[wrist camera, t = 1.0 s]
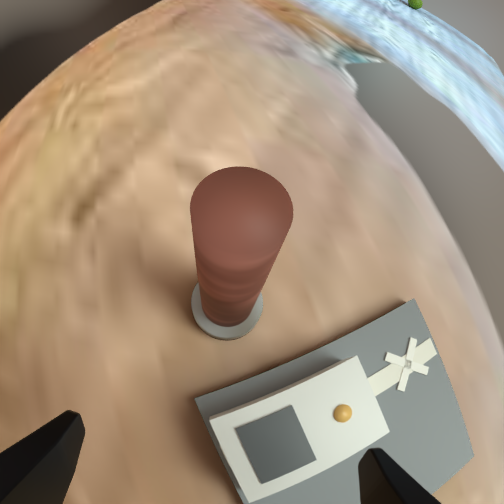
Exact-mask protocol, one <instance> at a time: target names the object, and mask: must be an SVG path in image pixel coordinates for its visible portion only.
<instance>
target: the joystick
mask: <svg viewBox="0 0 504 504" xmlns="http://www.w3.org/2000/svg"><path fill="white" fill-rule="evenodd" d="M190 213H191V223H192V232H193V241H194V250H195V258H196V267H197V275H198V283H197V284H196V286H195V288H194V290H193V293H192V299H191V306H192V311H193V315H194V318H195V320H196V323H197V324H198V326H199V327H200V328H201V330H203V331H204V332H205V333H206V334H207V335H209V336H211V337H213V338H215V339H219V340H235V339H238V338H241V337H243V336H245V335H246V334H248V333H249V332H250V331H251V330H252V329H253V328H254V326H255V325H256V323H257V322H258V320H259V318H260V316H261V313H262V309H263V298H262V294H261V290H262V288H263V286H264V283H265V281H266V279H267V277H268V275H269V273H270V270H271V268H272V266H273V264H274V262H275V260H276V257H277V255H278V253H279V251H280V249H281V246H282V244H283V242H284V240H285V238H286V235H287V233H288V231H289V229H290V226H291V223H292V220H293V205H292V202H291V198H290V196H289V194H288V192H287V191H286V189H285V188H284V187H283V186H282V184H281V183H280V182H279V181H277V180H276V179H275V178H274V177H272V176H271V175H269V174H267V173H265V172H263V171H260V170H257V169H254V168H250V167H229V168H224V169H221V170H218V171H216V172H213V173H212V174H210V175H208V176H207V177H206V178H204V179H203V180H202V181H201V182H200V183H199V185H198V186H197V187H196V189H195V191H194V193H193V195H192V198H191V203H190Z"/></svg>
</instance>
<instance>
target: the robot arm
mask: <svg viewBox="0 0 504 504" xmlns="http://www.w3.org/2000/svg"><path fill="white" fill-rule="evenodd" d="M84 436H85V428H84V424H83V421H82V418H81V415H80V414H79V413H77V412H74V411H71V410H67V411H65V412H63V413H62V414H60V415H59V416H57V417H56V418H54V419H53V420H51V421H50V422H48V423H47V424H45V425H43V426H42V427H40V428H39V429H37V430H36V431H34V432H33V433H31V434H30V435H28V436H26V437H25V438H23V439H22V440H20V441H19V442H17V443H15V444H14V445H12V446H11V447H9V448H7V449H6V450H4V451H3V452H1V453H0V504H63V501H64V498H65V496H66V493H67V490H68V488H69V485H70V483H71V480H72V478H73V475H74V472H75V469H76V465H77V461H78V458H79V454H80V450H81V447H82V443H83V439H84ZM358 475H359V489H360V502H361V504H441V503H440V502H439V501H438V500H437V499H436V498H435V497H433V496H432V495H431V494H430V493H429V492H428V491H427V490H426V489H425V488H423V487H422V486H421V485H420V484H419V483H418V482H417V481H416V480H415V479H414V478H413V477H412V476H410V475H409V474H408V473H407V472H406V471H405V470H404V469H403V468H402V467H401V466H400V465H399V464H398V463H397V462H396V461H394V460H393V459H392V458H391V457H390V456H389V455H388V454H387V453H386V452H385V451H384V450H383V449H382V448H380V447H377V448H369V449H368V450H367V451H366V452H365V454H364V455H363V457H362V458H361V460H360V461H359V463H358Z"/></svg>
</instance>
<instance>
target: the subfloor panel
mask: <svg viewBox="0 0 504 504" xmlns="http://www.w3.org/2000/svg"><path fill="white" fill-rule="evenodd" d="M356 355H357V356H358V358H359V361H360V363H361V365H362V367H363V370H364V372H365V374H366V376H367V379H368V381H369V383H370V386H371V388H372V390H373V393H374V395H375V397H376V400H377V402H378V404H379V407H380V409H381V411H382V414H383V416H384V419H385V421H386V424H387V426H388V428H389V431H390V432H389V433H387V434H386V435H384V436H383V437H381V438H380V439H378V440H377V441H375V442H373V443H372V444H370V445H369V446H367V447H365V448H364V449H362V450H360V451H359V452H357V453H355V454H354V455H352V456H350V457H348V458H347V459H345V460H343V461H341V462H339V463H338V464H336V465H334V466H332V467H330V468H328V469H326V470H324V471H322V472H320V473H318V474H316V475H314V476H312V477H310V478H308V479H306V480H304V481H302V482H300V483H297V484H295V485H293V486H291V487H288V488H286V489H284V490H281V491H279V492H277V493H274V494H272V495H269V496H267V497H264V498H261V499H259V500H256V501H253V502H251V503H249V502H248V500H247V498H246V496H245V494H244V492H243V490H242V489H241V487H240V485H239V483H238V481H237V479H236V477H235V475H234V473H233V471H232V469H231V467H230V465H229V462H228V460H227V458H226V456H225V454H224V452H223V450H222V448H221V446H220V443H219V441H218V439H217V437H216V435H215V432H214V430H213V428H212V426H211V423H210V421H209V419H210V416H213V415H215V414H218V413H221V412H224V411H227V410H229V409H232V408H235V407H237V406H240V405H243V404H245V403H248V402H250V401H253V400H255V399H258V398H260V397H263V396H265V395H267V394H270V393H272V392H275V391H277V390H279V389H282V388H284V387H286V386H288V385H291V384H293V383H295V382H297V381H299V380H302V379H304V378H306V377H308V376H310V375H312V374H314V373H316V372H319V371H321V370H323V369H325V368H327V367H329V366H331V365H333V364H335V363H337V362H339V361H341V360H343V359H346V358H350V357H353V356H356ZM194 399H195V401H196V404H197V406H198V408H199V411H200V413H201V416H202V418H203V420H204V423H205V425H206V427H207V429H208V432H209V434H210V436H211V438H212V441H213V443H214V445H215V447H216V449H217V451H218V454H219V456H220V458H221V460H222V462H223V464H224V466H225V468H226V470H227V472H228V474H229V476H230V478H231V480H232V482H233V484H234V486H235V488H236V490H237V492H238V494H239V496H240V498H241V499H242V501H243V503H244V504H361V502H360V489H359V475H358V463H359V461H360V460H361V458H362V457H363V455H364V454H365V452H366V451H367V450H368V449H369V448H377V447H380V448H382V449H383V450H384V451H385V452H386V453H387V454H388V455H389V456H390V457H391V458H392V459H393V460H394V461H396V462H397V463H398V464H399V465H400V466H401V467H402V468H403V469H404V470H405V471H406V472H407V473H408V474H409V475H410V476H412V477H413V478H414V479H415V480H416V481H417V482H418V483H419V484H420V485H421V486H422V487H423V488H425V489H426V490H427V491H428V492H429V493H430V494H433V493H434V492H435V491H436V490H438V489H439V488H440V487H441V486H442V485H443V484H445V483H446V482H447V481H448V480H449V479H450V478H451V477H453V476H454V475H455V474H456V473H457V472H458V471H459V470H460V469H461V468H462V467H463V466H464V465H465V464H466V463H468V462H469V461H470V460H471V459H472V458H473V457H474V453H473V450H472V446H471V443H470V439H469V436H468V433H467V429H466V426H465V423H464V420H463V417H462V414H461V411H460V408H459V405H458V402H457V399H456V396H455V393H454V391H453V388H452V385H451V383H450V380H449V377H448V375H447V372H446V370H445V367H444V365H443V362H442V360H441V357H440V355H439V352H438V350H437V348H436V345H435V343H434V340H433V338H432V336H431V334H430V331H429V329H428V327H427V325H426V322H425V320H424V318H423V316H422V314H421V312H420V310H419V307H418V305H417V303H416V301H415V299H412V300H410V301H408V302H407V303H405V304H403V305H401V306H400V307H398V308H396V309H394V310H393V311H391V312H389V313H387V314H385V315H384V316H382V317H380V318H378V319H376V320H374V321H372V322H371V323H369V324H367V325H365V326H363V327H361V328H359V329H357V330H355V331H353V332H351V333H349V334H347V335H345V336H343V337H341V338H339V339H337V340H335V341H333V342H331V343H329V344H327V345H325V346H323V347H321V348H319V349H316V350H314V351H312V352H310V353H308V354H306V355H303V356H301V357H299V358H297V359H294V360H292V361H290V362H287V363H285V364H283V365H281V366H278V367H276V368H273V369H271V370H269V371H266V372H264V373H261V374H259V375H256V376H254V377H251V378H249V379H246V380H244V381H241V382H238V383H236V384H233V385H230V386H228V387H225V388H222V389H220V390H217V391H214V392H211V393H208V394H205V395H203V396H200V397H197V398H194Z"/></svg>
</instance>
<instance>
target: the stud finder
mask: <svg viewBox="0 0 504 504" xmlns="http://www.w3.org/2000/svg"><path fill="white" fill-rule="evenodd" d="M209 421H210V423H211V426H212V428H213V430H214V432H215V435H216V437H217V439H218V441H219V443H220V446H221V448H222V450H223V452H224V454H225V456H226V458H227V460H228V462H229V465H230V467H231V469H232V471H233V473H234V475H235V477H236V479H237V481H238V483H239V485H240V487H241V489H242V490H243V492H244V494H245V496H246V498H247V500H248V502H249V503H251V502H253V501H256V500H259V499H261V498H264V497H267V496H269V495H272V494H274V493H277V492H279V491H281V490H284V489H286V488H288V487H291V486H293V485H295V484H297V483H300V482H302V481H304V480H306V479H308V478H310V477H312V476H314V475H316V474H318V473H320V472H322V471H324V470H326V469H328V468H330V467H332V466H334V465H336V464H338V463H339V462H341V461H343V460H345V459H347V458H348V457H350V456H352V455H354V454H355V453H357V452H359V451H360V450H362V449H364V448H365V447H367V446H369V445H370V444H372V443H373V442H375V441H377V440H378V439H380V438H381V437H383V436H384V435H386V434H387V433H389V432H390V431H389V428H388V426H387V424H386V421H385V419H384V416H383V414H382V411H381V409H380V407H379V404H378V402H377V400H376V397H375V395H374V393H373V390H372V388H371V386H370V383H369V381H368V379H367V376H366V374H365V372H364V370H363V367H362V365H361V363H360V361H359V358H358V356H357V355H356V356H353V357H350V358H346V359H343V360H341V361H339V362H337V363H335V364H333V365H331V366H329V367H327V368H325V369H323V370H321V371H319V372H316V373H314V374H312V375H310V376H308V377H306V378H304V379H302V380H299V381H297V382H295V383H293V384H291V385H288V386H286V387H284V388H282V389H279V390H277V391H275V392H272V393H270V394H267V395H265V396H263V397H260V398H258V399H255V400H253V401H250V402H248V403H245V404H243V405H240V406H237V407H235V408H232V409H229V410H227V411H224V412H221V413H218V414H215V415H213V416H210V419H209Z"/></svg>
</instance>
